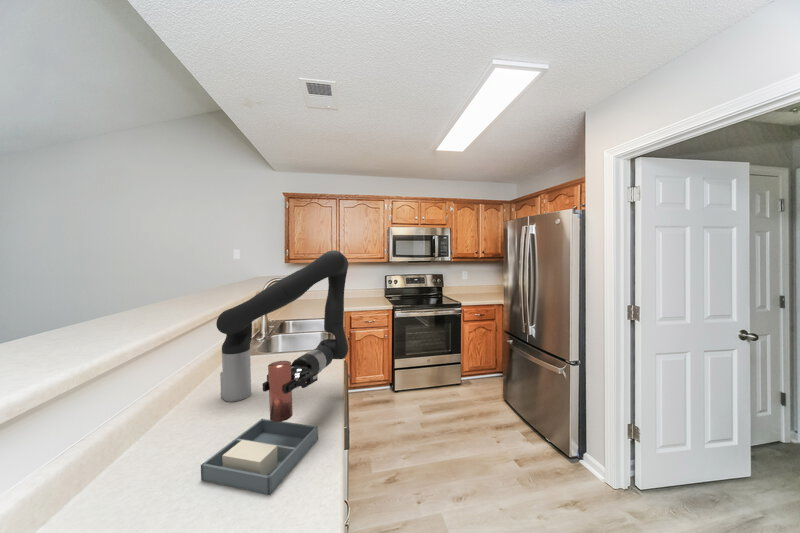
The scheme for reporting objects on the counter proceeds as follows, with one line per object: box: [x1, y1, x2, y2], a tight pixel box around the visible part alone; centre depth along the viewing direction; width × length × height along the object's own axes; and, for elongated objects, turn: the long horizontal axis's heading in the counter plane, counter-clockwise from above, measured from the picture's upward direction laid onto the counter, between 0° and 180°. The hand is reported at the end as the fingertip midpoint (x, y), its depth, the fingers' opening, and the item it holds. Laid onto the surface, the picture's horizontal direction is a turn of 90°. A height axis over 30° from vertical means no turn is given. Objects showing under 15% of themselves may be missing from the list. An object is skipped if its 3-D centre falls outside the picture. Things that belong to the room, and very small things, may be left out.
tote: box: [200, 418, 319, 496], centre depth 75 cm, size 18×20×4 cm
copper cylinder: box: [267, 360, 294, 422], centre depth 79 cm, size 6×6×14 cm
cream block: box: [222, 440, 278, 476], centre depth 70 cm, size 10×6×5 cm, turn 76°
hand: (274, 388), depth 77 cm, fingers closed on copper cylinder, 5 cm apart
